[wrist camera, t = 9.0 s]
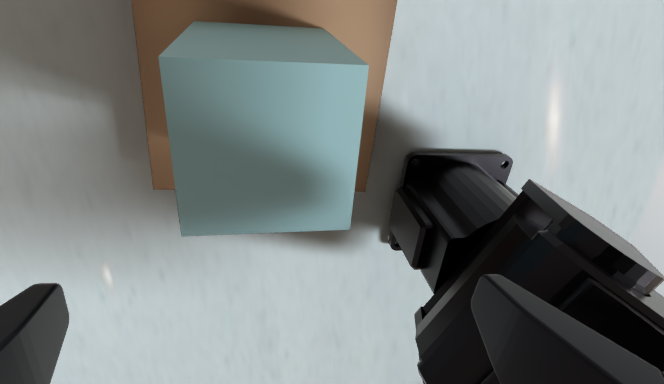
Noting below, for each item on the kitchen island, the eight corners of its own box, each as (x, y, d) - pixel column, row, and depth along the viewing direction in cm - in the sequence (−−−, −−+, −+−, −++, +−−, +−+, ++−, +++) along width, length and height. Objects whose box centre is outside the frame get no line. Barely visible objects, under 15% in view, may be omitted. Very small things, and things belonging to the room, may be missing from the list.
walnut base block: (381, -34, 18) (403, -35, 16) (352, 166, 23) (365, 191, 20) (143, -66, 16) (123, -73, 13) (165, 162, 21) (153, 189, 18)
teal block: (324, 28, 16) (369, 65, 10) (317, 144, 18) (349, 229, 12) (194, 20, 15) (158, 56, 9) (204, 144, 18) (181, 236, 12)
